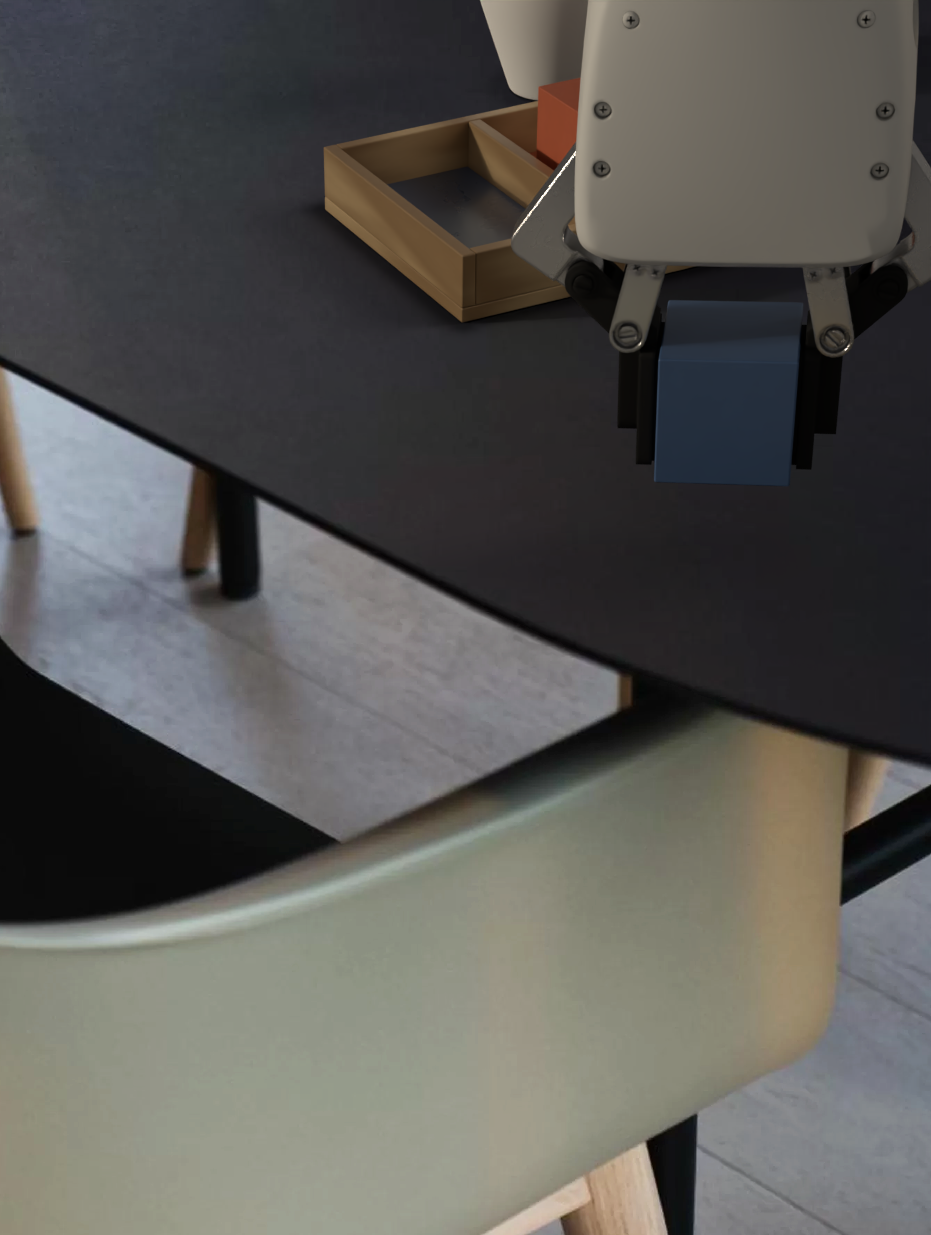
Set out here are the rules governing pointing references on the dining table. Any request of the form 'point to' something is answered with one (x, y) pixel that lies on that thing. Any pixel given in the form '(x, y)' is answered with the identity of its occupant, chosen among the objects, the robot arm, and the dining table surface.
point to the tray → (449, 207)
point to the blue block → (727, 392)
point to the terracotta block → (557, 120)
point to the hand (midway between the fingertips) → (725, 442)
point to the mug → (537, 41)
